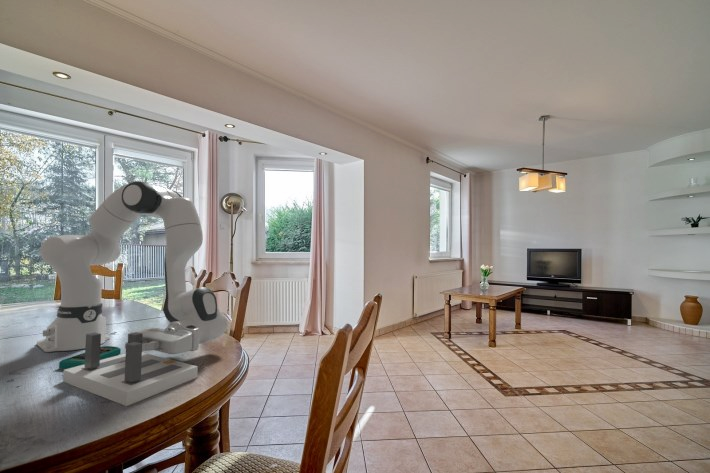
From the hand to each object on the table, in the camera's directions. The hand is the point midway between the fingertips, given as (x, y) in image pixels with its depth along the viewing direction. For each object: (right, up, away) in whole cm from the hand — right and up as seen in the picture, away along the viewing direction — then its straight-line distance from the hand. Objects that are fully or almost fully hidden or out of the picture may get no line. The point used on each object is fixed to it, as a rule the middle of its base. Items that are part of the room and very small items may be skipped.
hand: (131, 347), depth 86 cm
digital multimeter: (-22, -9, +13) cm, 27 cm away
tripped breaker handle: (0, -5, +1) cm, 5 cm away
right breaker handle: (+6, -5, -8) cm, 11 cm away
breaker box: (0, -9, 0) cm, 9 cm away
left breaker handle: (-10, -5, 0) cm, 11 cm away
